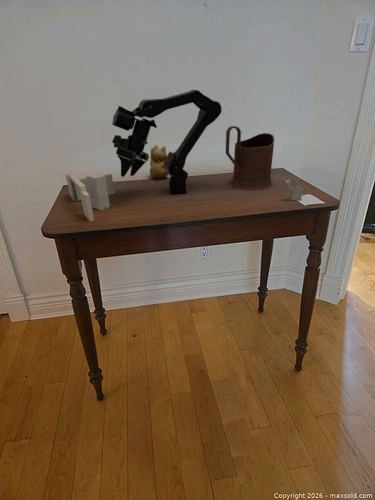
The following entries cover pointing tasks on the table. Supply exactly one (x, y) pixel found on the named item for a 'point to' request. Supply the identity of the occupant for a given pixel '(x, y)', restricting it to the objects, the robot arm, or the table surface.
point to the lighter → (294, 191)
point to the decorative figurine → (158, 163)
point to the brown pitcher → (251, 161)
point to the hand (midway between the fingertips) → (127, 176)
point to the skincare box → (98, 191)
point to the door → (84, 180)
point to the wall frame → (84, 195)
